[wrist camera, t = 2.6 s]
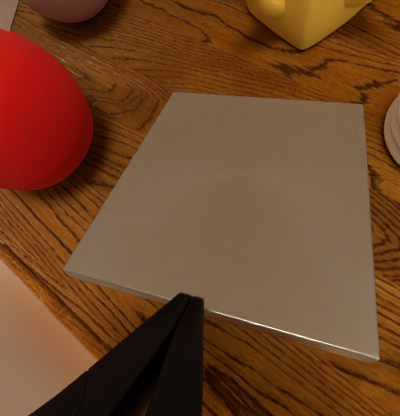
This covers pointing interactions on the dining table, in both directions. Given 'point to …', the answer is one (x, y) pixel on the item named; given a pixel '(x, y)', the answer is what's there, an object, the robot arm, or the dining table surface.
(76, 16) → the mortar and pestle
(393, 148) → the cream thick disc
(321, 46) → the dining table surface
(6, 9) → the basket
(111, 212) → the bin lid
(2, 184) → the tomato
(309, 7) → the teapot
